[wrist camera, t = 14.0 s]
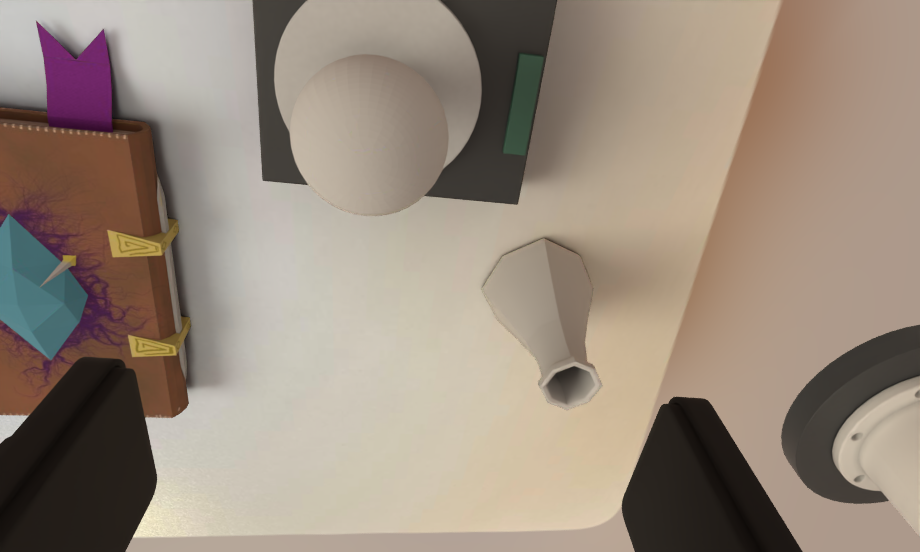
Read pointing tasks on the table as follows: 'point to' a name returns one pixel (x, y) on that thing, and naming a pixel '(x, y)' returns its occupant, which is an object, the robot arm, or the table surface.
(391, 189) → the light bulb
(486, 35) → the scale
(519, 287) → the flask
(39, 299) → the book
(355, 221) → the table surface
